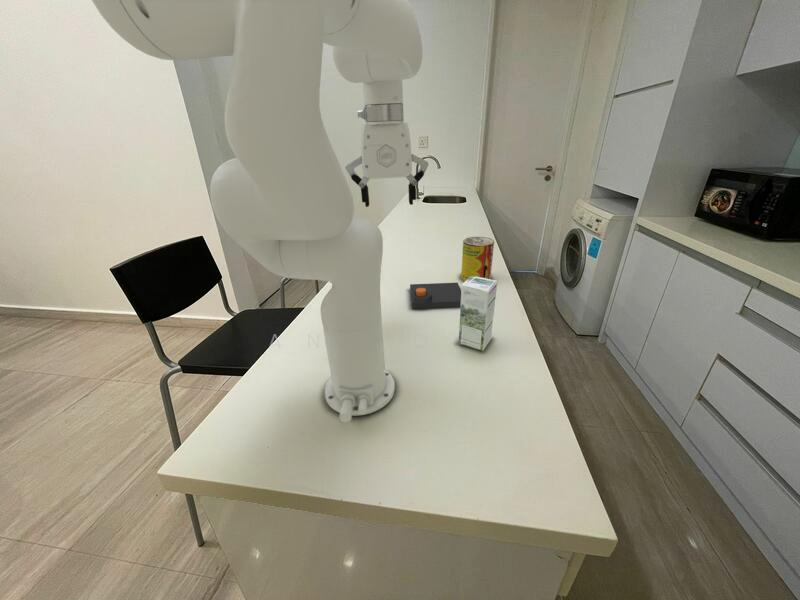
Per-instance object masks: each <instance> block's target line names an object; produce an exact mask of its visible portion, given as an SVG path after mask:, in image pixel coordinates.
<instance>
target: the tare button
mask: <svg viewBox="0 0 800 600" xmlns="http://www.w3.org/2000/svg"><path fill="white" fill-rule="evenodd" d="M416 296H419V297H423V296H426V289H425V288H418V289H416Z"/></svg>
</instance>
